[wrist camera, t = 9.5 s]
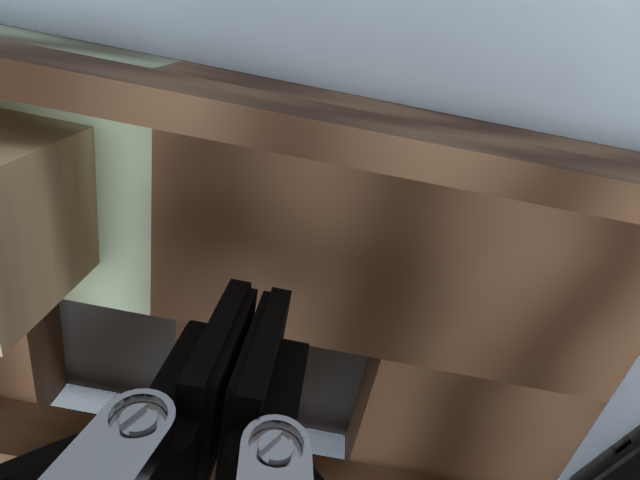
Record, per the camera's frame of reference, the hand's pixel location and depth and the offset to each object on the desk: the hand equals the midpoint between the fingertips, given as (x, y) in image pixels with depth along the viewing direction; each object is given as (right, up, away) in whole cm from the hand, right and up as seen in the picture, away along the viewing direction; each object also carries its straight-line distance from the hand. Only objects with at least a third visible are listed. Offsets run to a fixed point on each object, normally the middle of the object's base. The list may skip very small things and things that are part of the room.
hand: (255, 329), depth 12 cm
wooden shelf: (+1, +1, +7) cm, 7 cm away
